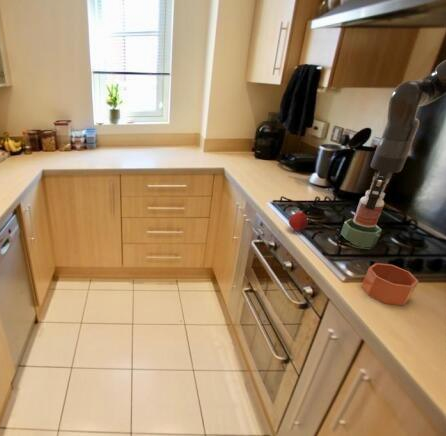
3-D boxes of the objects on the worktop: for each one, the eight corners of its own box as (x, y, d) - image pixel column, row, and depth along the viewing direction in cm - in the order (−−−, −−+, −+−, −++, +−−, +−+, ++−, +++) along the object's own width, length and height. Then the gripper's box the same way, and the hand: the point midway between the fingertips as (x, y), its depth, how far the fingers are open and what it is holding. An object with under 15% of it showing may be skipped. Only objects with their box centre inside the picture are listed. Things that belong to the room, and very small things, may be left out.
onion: (295, 225, 117) (301, 206, 113) (308, 233, 112) (314, 213, 108) (283, 228, 115) (288, 208, 111) (295, 236, 110) (301, 215, 107)
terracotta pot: (395, 283, 87) (403, 265, 84) (415, 307, 79) (425, 288, 76) (356, 279, 89) (364, 261, 86) (372, 302, 81) (381, 283, 78)
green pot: (366, 235, 110) (372, 220, 107) (379, 250, 102) (386, 234, 99) (336, 233, 112) (341, 218, 109) (347, 247, 103) (352, 231, 101)
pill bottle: (379, 228, 100) (393, 196, 95) (358, 227, 101) (370, 195, 96) (368, 219, 105) (381, 188, 100) (348, 218, 106) (359, 188, 101)
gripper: (405, 161, 85) (382, 216, 93) (409, 150, 95) (388, 201, 103) (371, 156, 90) (352, 209, 98) (378, 146, 99) (360, 195, 107)
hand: (371, 205), depth 100 cm, fingers closed on pill bottle, 6 cm apart
